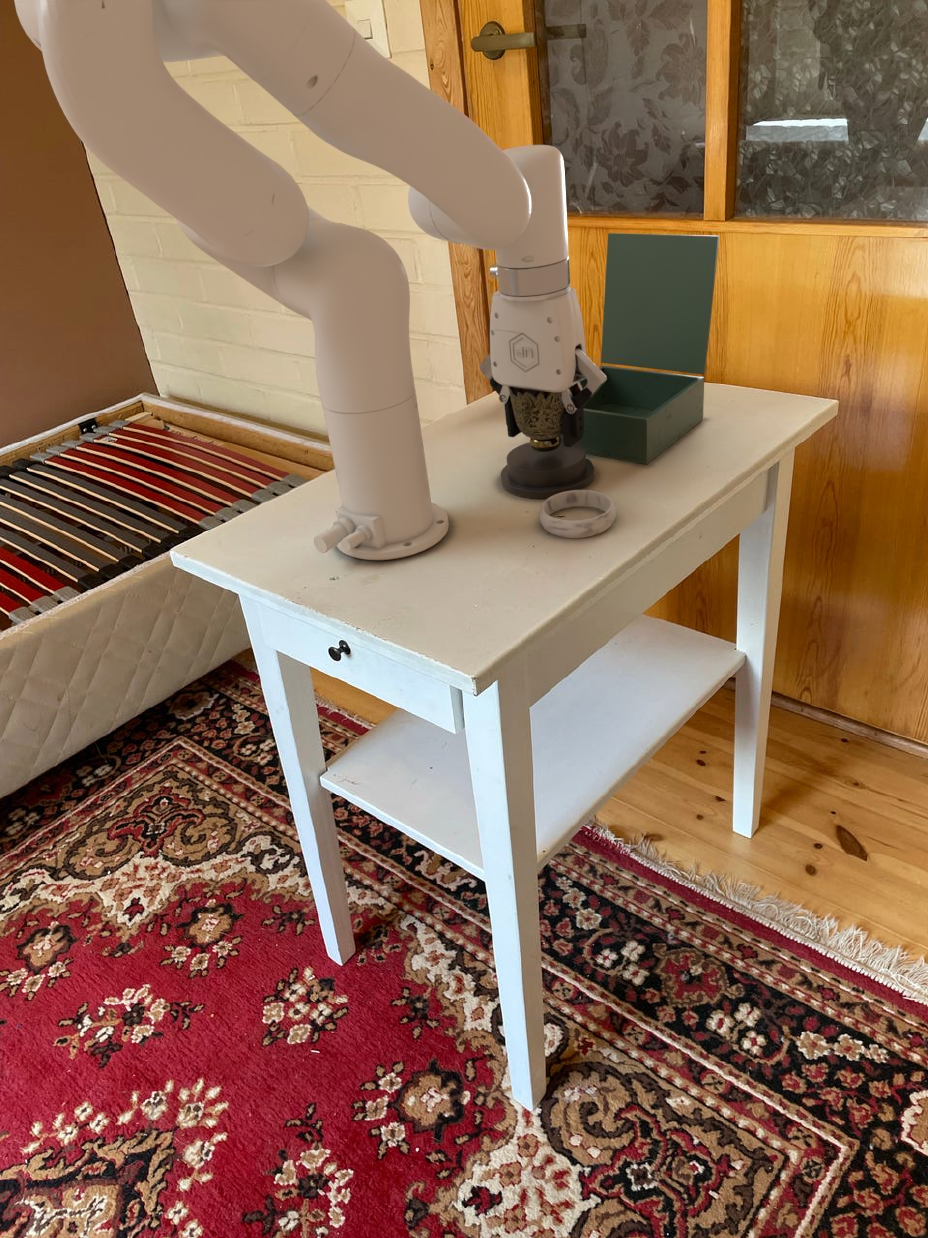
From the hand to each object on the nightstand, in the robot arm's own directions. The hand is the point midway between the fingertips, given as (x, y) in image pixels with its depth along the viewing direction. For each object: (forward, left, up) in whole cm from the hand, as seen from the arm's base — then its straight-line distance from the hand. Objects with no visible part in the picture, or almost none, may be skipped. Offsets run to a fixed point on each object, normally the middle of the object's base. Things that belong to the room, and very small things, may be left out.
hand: (545, 436), depth 107 cm
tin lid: (+24, -1, +9) cm, 26 cm away
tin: (+15, -1, -5) cm, 16 cm away
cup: (0, 0, -2) cm, 2 cm away
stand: (0, 0, -5) cm, 5 cm away
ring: (-8, -9, -5) cm, 13 cm away
